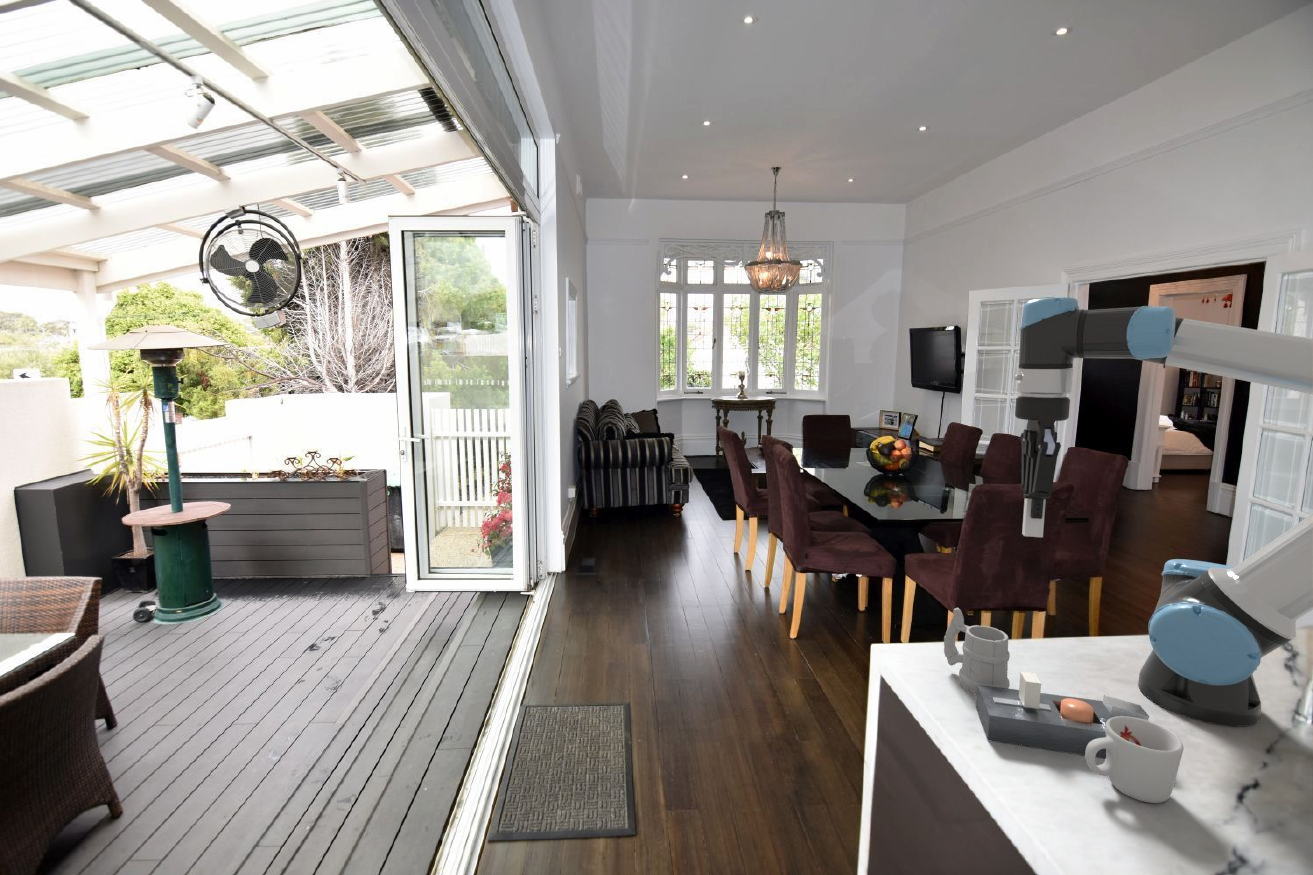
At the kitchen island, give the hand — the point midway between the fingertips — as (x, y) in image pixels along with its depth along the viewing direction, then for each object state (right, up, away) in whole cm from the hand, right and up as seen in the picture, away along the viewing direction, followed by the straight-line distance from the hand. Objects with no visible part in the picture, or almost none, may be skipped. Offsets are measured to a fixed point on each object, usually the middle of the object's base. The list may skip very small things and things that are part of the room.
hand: (1032, 535), depth 104 cm
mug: (-8, -26, +4) cm, 28 cm away
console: (-3, -28, -11) cm, 30 cm away
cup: (-1, -30, -23) cm, 38 cm away
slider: (-7, -23, -11) cm, 27 cm away
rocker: (+5, -23, -14) cm, 27 cm away
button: (-1, -28, -12) cm, 30 cm away
